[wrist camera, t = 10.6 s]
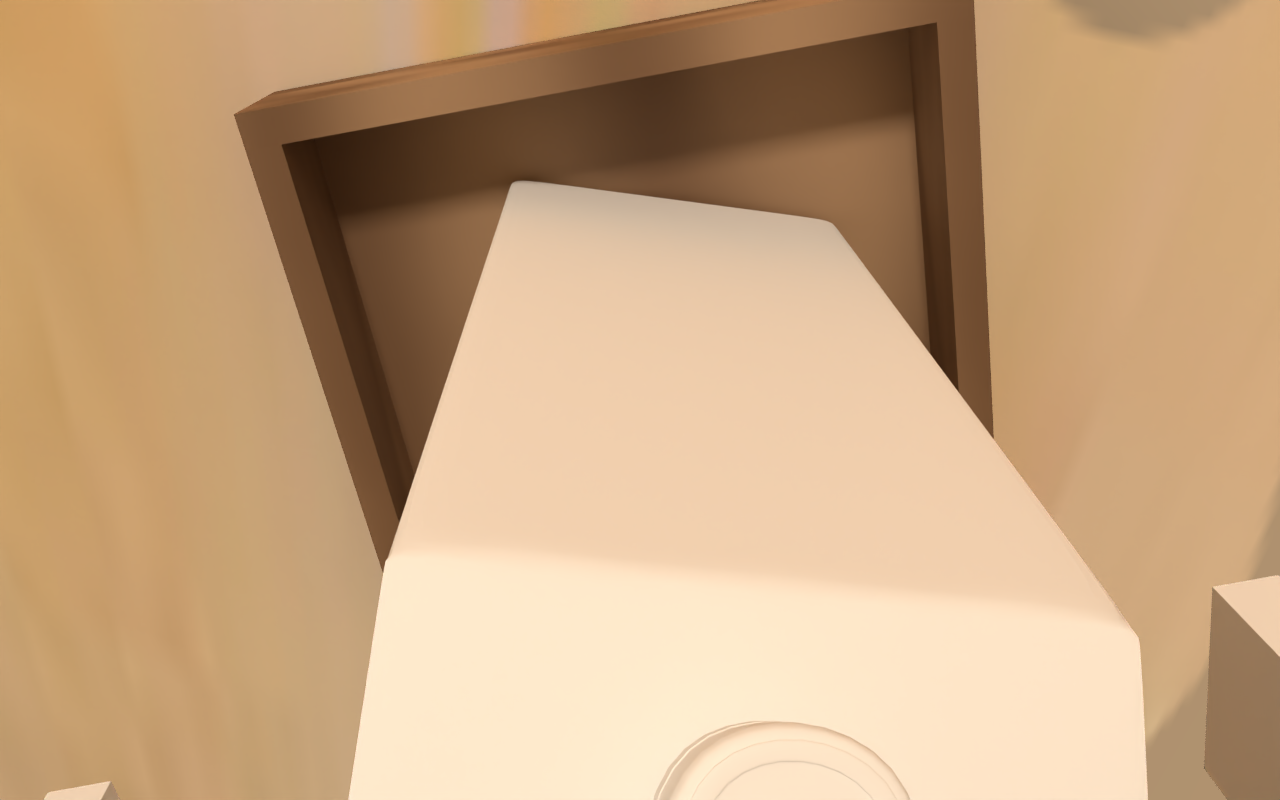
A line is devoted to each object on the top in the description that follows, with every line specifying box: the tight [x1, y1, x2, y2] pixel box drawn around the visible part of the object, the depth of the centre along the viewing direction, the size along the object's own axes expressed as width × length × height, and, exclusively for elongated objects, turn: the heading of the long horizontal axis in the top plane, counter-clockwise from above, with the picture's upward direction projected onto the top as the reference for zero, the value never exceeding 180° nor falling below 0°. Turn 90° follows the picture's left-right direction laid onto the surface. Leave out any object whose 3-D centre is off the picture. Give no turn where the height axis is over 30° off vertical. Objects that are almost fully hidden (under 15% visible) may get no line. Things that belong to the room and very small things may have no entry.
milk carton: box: [348, 181, 1148, 800], centre depth 16 cm, size 7×7×19 cm
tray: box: [234, 0, 994, 572], centre depth 24 cm, size 14×14×3 cm
